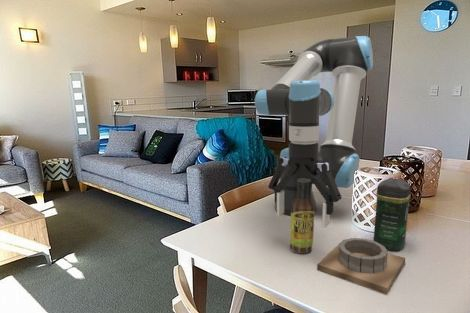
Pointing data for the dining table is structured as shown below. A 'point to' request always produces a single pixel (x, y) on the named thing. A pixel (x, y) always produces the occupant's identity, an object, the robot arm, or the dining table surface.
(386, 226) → the coffee jar
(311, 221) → the sauce bottle
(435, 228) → the dining table surface
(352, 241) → the ring collar
